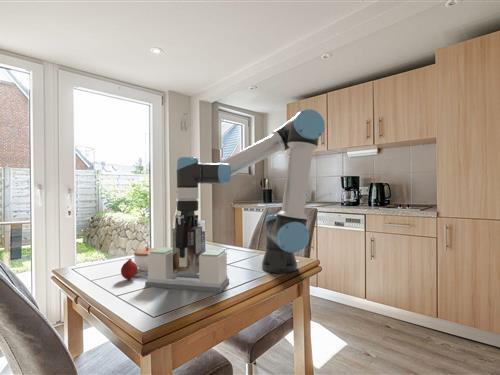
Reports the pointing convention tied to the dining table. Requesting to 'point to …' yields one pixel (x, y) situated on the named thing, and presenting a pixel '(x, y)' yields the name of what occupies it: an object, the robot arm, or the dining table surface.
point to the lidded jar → (142, 258)
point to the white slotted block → (206, 280)
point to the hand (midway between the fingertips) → (187, 263)
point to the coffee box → (188, 251)
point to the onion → (129, 269)
